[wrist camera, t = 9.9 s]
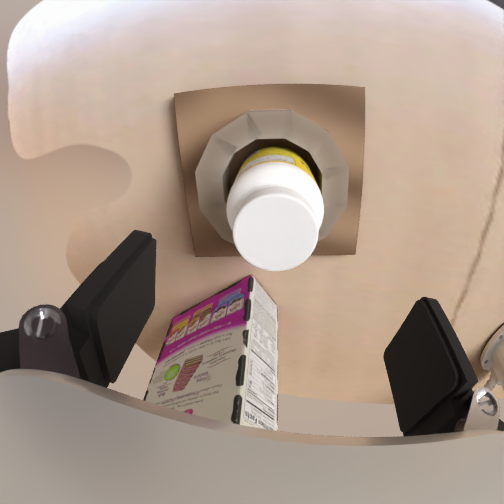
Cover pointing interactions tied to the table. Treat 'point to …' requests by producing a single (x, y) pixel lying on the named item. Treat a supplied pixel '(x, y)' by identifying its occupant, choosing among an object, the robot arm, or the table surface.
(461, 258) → the table surface
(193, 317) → the candy bar box
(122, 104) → the table surface
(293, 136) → the hub block
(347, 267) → the table surface
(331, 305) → the table surface
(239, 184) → the supplement bottle
